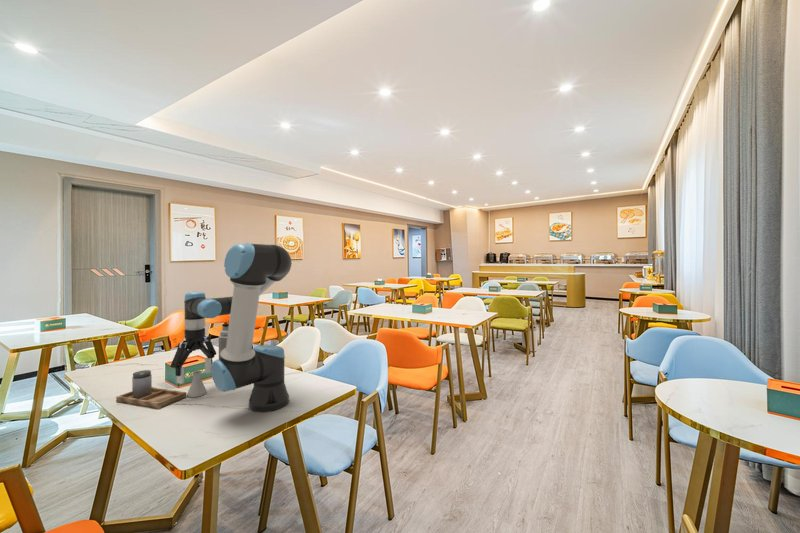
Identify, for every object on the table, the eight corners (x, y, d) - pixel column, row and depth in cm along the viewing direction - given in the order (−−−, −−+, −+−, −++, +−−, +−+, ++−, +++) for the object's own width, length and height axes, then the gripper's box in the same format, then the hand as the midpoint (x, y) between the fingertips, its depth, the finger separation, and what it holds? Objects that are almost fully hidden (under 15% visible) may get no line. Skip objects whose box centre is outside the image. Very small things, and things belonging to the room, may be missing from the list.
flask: (197, 399, 140) (197, 375, 139) (182, 397, 141) (182, 373, 141) (210, 392, 147) (210, 369, 146) (196, 391, 148) (196, 368, 148)
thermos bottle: (225, 379, 162) (225, 322, 162) (241, 380, 162) (240, 322, 161) (215, 385, 155) (214, 325, 154) (231, 386, 154) (231, 325, 153)
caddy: (186, 397, 141) (186, 392, 141) (158, 409, 129) (158, 403, 129) (146, 391, 148) (146, 386, 148) (116, 402, 136) (116, 396, 136)
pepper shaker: (155, 394, 142) (155, 370, 142) (139, 400, 136) (139, 375, 136) (144, 392, 144) (144, 369, 144) (128, 398, 138) (128, 374, 138)
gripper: (212, 322, 156) (212, 367, 157) (159, 333, 132) (159, 386, 133) (225, 323, 154) (224, 369, 154) (174, 335, 130) (174, 389, 131)
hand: (194, 377), depth 144 cm, fingers open, 13 cm apart
